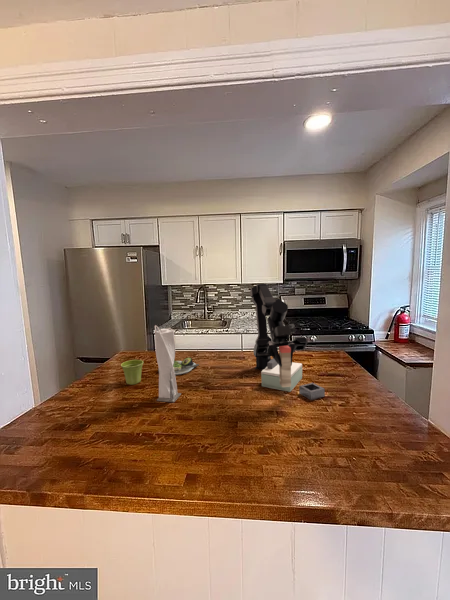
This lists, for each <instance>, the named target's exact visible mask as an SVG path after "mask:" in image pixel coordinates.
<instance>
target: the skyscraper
mask: <svg viewBox="0 0 450 600" xmlns="http://www.w3.org/2000/svg"><path fill="white" fill-rule="evenodd" d="M153 328H154V331H155V333H154V339H155V341H154V342H155V343H154V344H155V345H154V349H155V356H156V362H157V365H158V369H159V371H158V398H157V399H156V401H157V402H166V403H175V402H176V401H177V400H178V399H179V398H180V397H181V395H182V393H181V392H178V385H177V379H176V375H175V372H174V368H173V365H174V360H175V357H176V341H175V339H176V338H175V331H174V329H172V328H171V327H168V328H160V327H159V326H158V325H156V324H155V325H154V327H153Z"/></svg>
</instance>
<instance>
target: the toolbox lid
mask: <svg viewBox="0 0 450 600" xmlns="http://www.w3.org/2000/svg"><path fill="white" fill-rule="evenodd" d="M271 359H272V360H270V361H269V362H268V363H267V367H266V368H265V369H264V370H260V373H261V374H266V375H272V376H278V377H280V375H279V364H278V363H277V362H276V361H275V359H274V358H273V357H272V358H271ZM301 367H302V368H303V363H300V362H293V361H292V366H291V377H292V376H293V375H294V374H295V373H296V372H297V371H298V370H299V369H300V368H301Z"/></svg>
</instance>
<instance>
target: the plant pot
mask: <svg viewBox="0 0 450 600" xmlns="http://www.w3.org/2000/svg"><path fill="white" fill-rule="evenodd" d="M143 365H144V361H143V360H142V359H131V360H126V361H124V362H121V364H120V367H121V368H122V370H123V374H124V378H125V382H126V384H127V385H131V386H132V385H137V384H139V383H141V381H142V370H143Z"/></svg>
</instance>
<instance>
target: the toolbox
mask: <svg viewBox="0 0 450 600" xmlns="http://www.w3.org/2000/svg"><path fill="white" fill-rule="evenodd" d="M260 376H261V378H260V379H261V387H264V388H269V389H275V390H279V391H285V392H288V393H290V392H292V391H293V389H294V388H295V387H296V386H297V385H298V384H299V383H300V382H301V380H302V379H303V366H302V367H301V368H300V369H299V370H298V371H297V372H296V373H295V374H294V375H293V376H292V377H291V387H282V386H281V385H280V377H278V376H272V375H266V374H261V375H260Z"/></svg>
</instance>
